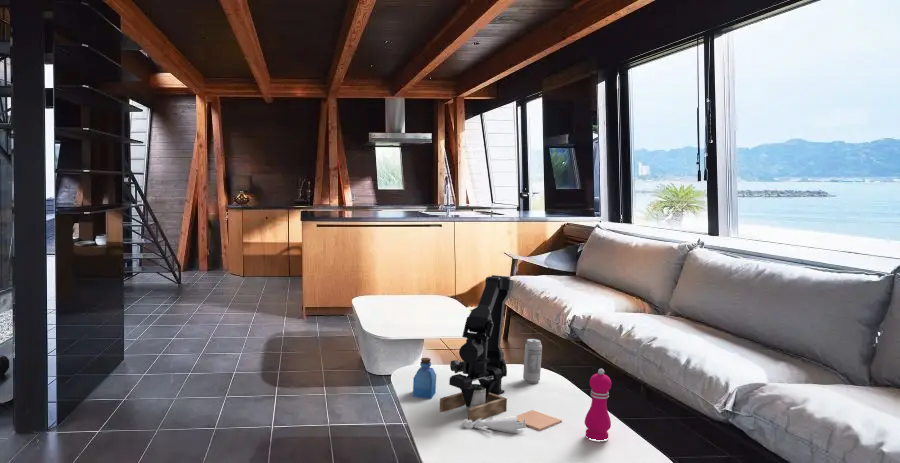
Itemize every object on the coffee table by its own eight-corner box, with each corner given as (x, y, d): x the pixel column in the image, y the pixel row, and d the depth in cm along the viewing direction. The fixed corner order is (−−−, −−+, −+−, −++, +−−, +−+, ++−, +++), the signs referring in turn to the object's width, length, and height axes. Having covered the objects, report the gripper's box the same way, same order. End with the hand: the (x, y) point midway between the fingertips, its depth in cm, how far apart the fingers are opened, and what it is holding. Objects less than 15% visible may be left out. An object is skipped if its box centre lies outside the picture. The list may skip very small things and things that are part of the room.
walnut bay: (475, 400, 211) (476, 388, 211) (506, 411, 202) (507, 398, 202) (439, 411, 199) (440, 398, 199) (470, 423, 190) (471, 410, 190)
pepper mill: (580, 432, 187) (585, 364, 186) (605, 433, 188) (609, 365, 186) (588, 443, 180) (592, 372, 178) (613, 443, 181) (618, 372, 179)
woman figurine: (526, 424, 180) (461, 423, 181) (526, 439, 180) (461, 439, 182) (524, 409, 192) (463, 409, 193) (524, 424, 192) (464, 424, 193)
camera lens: (486, 408, 203) (487, 384, 203) (482, 415, 197) (484, 390, 197) (466, 406, 205) (468, 381, 204) (462, 412, 199) (463, 387, 198)
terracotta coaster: (532, 411, 203) (532, 410, 202) (561, 422, 195) (561, 420, 195) (510, 419, 195) (510, 418, 195) (539, 430, 187) (540, 428, 187)
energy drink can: (538, 379, 237) (540, 338, 236) (541, 384, 231) (543, 342, 230) (521, 378, 237) (524, 338, 236) (524, 383, 231) (526, 342, 230)
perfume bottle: (431, 398, 210) (433, 362, 209) (412, 396, 211) (414, 360, 211) (435, 393, 216) (437, 357, 215) (417, 390, 217) (419, 355, 217)
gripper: (478, 344, 212) (475, 391, 213) (437, 353, 199) (435, 403, 200) (504, 352, 204) (501, 400, 206) (464, 361, 191) (461, 413, 192)
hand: (475, 404), depth 201 cm, fingers closed on camera lens, 6 cm apart
